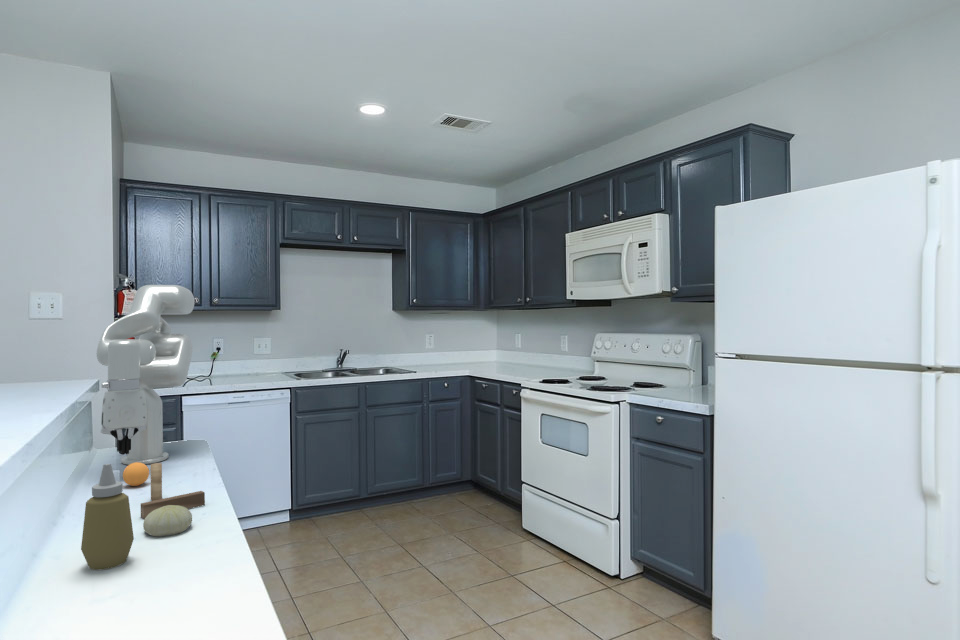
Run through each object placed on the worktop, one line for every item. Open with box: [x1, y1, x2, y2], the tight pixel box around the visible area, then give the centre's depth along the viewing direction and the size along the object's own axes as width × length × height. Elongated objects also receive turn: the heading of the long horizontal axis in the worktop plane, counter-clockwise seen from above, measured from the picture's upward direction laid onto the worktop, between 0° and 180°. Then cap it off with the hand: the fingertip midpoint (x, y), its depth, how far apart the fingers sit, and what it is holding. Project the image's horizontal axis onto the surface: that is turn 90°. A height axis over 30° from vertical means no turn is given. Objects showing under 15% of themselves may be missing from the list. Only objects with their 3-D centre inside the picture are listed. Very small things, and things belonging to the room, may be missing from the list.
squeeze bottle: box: [80, 463, 135, 571], centre depth 107 cm, size 8×8×18 cm
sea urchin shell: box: [142, 505, 193, 538], centre depth 123 cm, size 9×8×8 cm
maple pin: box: [150, 462, 163, 501], centre depth 144 cm, size 2×2×8 cm
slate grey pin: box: [112, 469, 121, 482], centre depth 137 cm, size 2×2×8 cm
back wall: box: [140, 490, 206, 520], centre depth 135 cm, size 2×13×3 cm, turn 135°
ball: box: [122, 462, 150, 487], centre depth 155 cm, size 6×6×6 cm
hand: (124, 453), depth 160 cm, fingers closed
